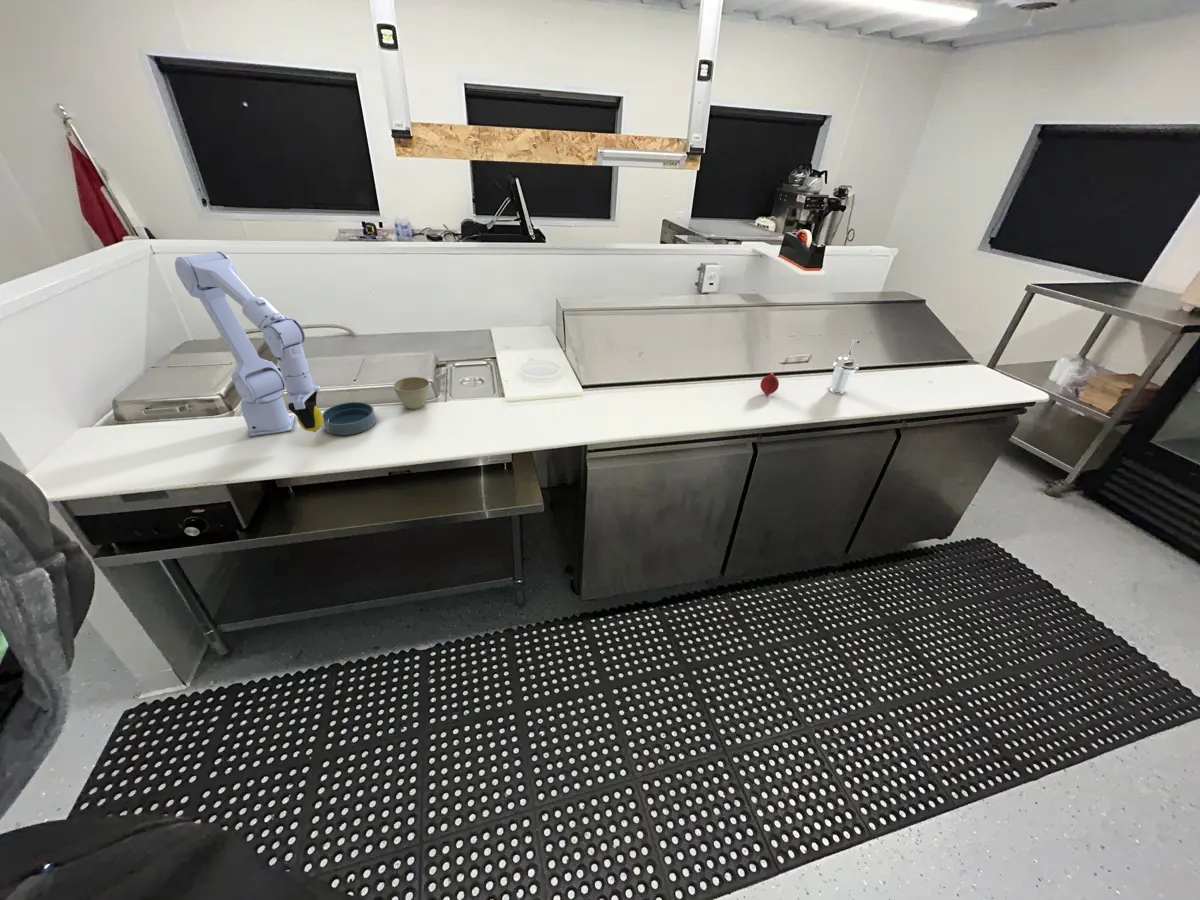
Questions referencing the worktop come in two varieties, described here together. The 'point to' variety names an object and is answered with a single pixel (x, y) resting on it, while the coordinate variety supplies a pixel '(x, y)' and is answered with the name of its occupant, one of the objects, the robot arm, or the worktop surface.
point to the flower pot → (412, 391)
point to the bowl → (348, 418)
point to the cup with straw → (843, 370)
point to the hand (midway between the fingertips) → (311, 421)
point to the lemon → (318, 420)
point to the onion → (769, 384)
